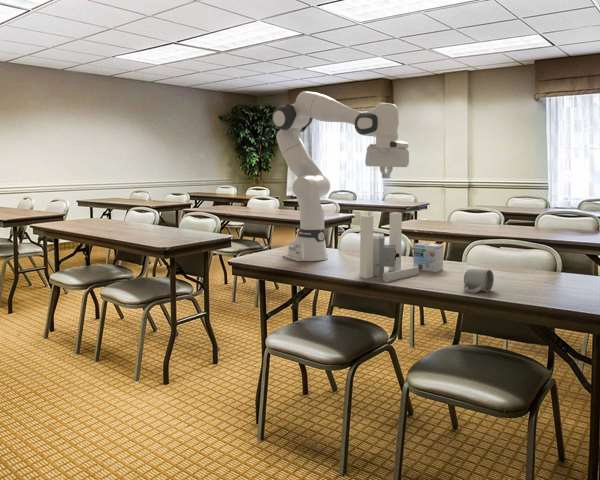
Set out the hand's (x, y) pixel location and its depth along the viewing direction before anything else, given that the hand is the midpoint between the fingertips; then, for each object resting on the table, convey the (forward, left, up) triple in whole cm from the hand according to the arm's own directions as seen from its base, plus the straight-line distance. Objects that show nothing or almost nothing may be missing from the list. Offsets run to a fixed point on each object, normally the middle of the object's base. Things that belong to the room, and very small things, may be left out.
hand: (385, 178), depth 217 cm
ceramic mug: (+46, -6, -38) cm, 60 cm away
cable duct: (+15, -8, -38) cm, 42 cm away
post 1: (+5, -17, -38) cm, 42 cm away
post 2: (+5, +1, -38) cm, 38 cm away
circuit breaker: (+5, -8, -38) cm, 39 cm away
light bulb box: (+13, +13, -38) cm, 42 cm away
